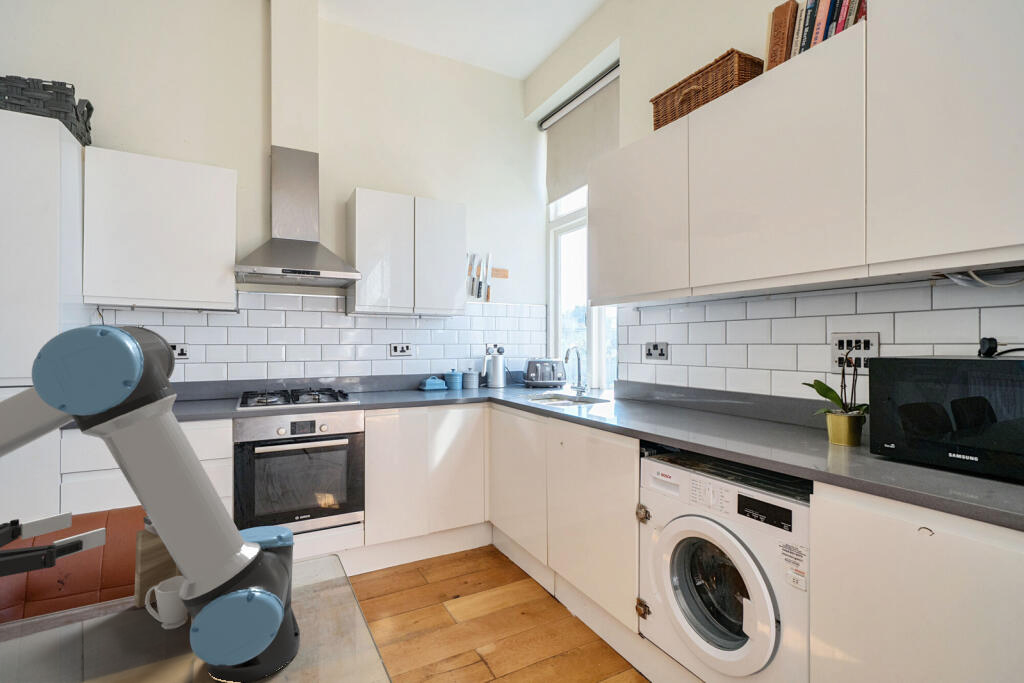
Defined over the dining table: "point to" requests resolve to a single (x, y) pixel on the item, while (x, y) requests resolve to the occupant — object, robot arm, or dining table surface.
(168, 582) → the cup
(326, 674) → the dining table surface
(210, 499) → the robot arm
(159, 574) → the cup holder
